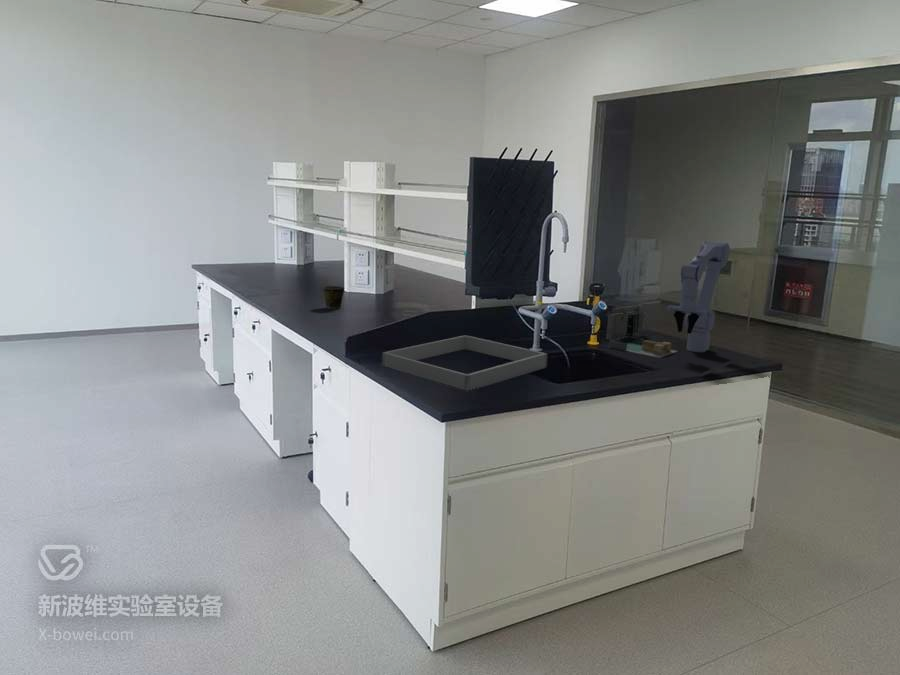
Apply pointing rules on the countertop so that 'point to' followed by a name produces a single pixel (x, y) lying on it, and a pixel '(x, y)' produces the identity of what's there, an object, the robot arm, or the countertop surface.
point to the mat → (638, 349)
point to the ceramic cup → (333, 296)
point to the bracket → (621, 342)
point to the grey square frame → (407, 363)
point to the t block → (656, 347)
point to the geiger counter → (625, 322)
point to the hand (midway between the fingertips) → (684, 332)
